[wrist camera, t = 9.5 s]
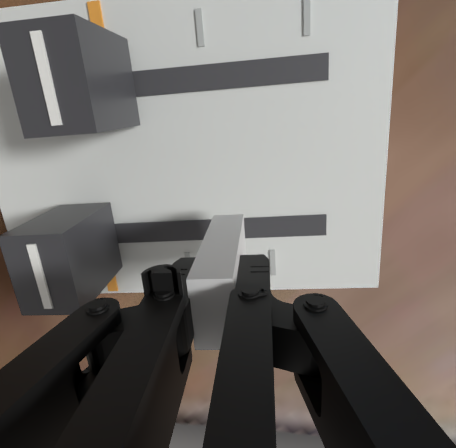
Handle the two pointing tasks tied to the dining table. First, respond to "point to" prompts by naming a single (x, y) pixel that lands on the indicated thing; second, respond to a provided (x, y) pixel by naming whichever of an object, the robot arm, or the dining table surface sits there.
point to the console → (228, 135)
